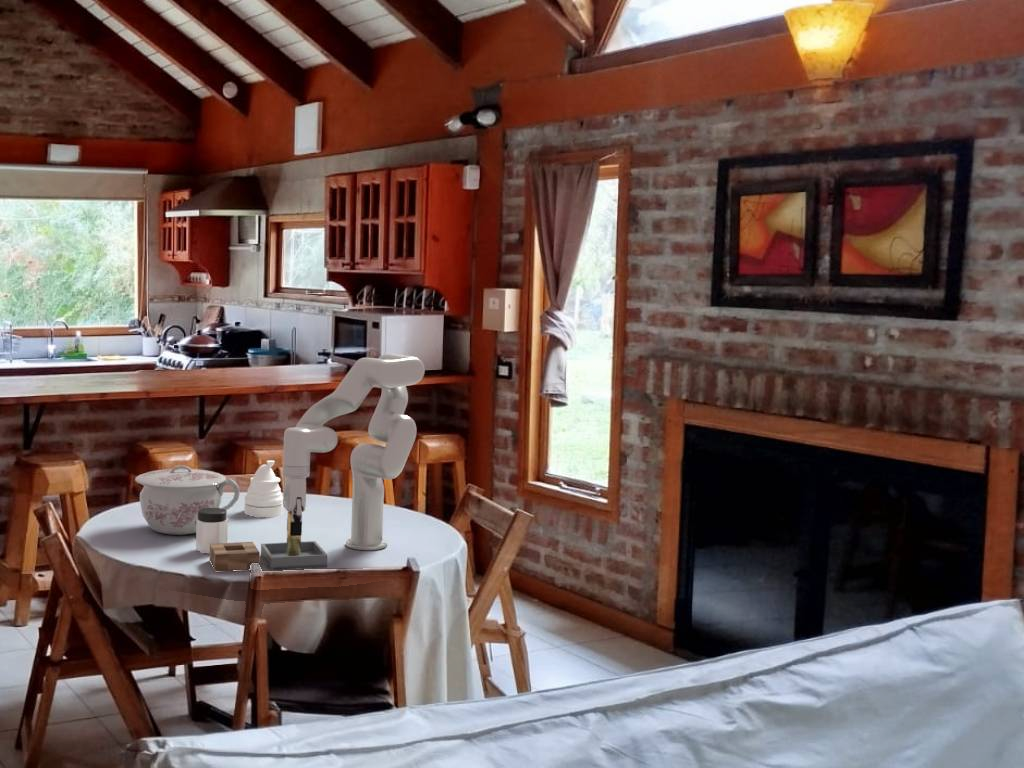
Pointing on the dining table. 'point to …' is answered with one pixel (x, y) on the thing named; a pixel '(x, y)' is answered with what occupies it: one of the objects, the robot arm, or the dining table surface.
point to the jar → (211, 528)
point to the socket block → (233, 556)
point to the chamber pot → (181, 497)
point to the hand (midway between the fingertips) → (294, 532)
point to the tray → (279, 560)
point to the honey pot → (264, 494)
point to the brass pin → (292, 540)
